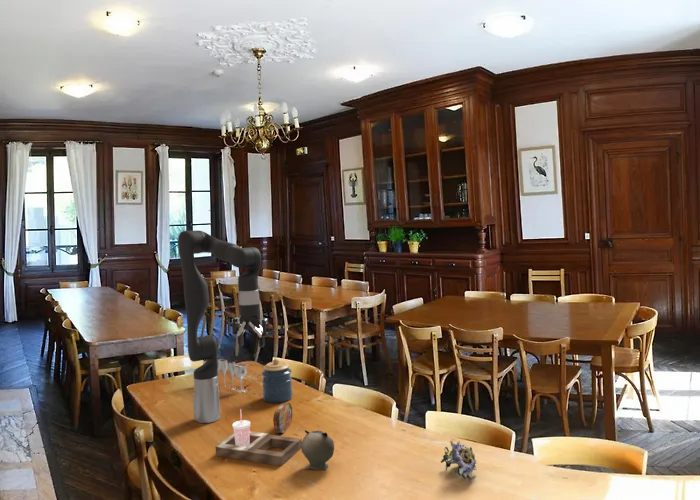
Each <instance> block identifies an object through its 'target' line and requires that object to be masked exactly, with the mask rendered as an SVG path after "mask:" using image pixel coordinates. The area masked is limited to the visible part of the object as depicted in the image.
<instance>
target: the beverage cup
mask: <svg viewBox="0 0 700 500" xmlns="http://www.w3.org/2000/svg"><path fill="white" fill-rule="evenodd" d="M239 417H240V420H237V421H234V422H233V423H232V428H233V434H234V437H235V445H237V446H244V447H247V446H248V445H250V431H251V421H249V420H248V419H247V420H246V419H243V415H242V408H239Z"/></svg>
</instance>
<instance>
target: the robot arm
mask: <svg viewBox="0 0 700 500" xmlns="http://www.w3.org/2000/svg"><path fill="white" fill-rule="evenodd" d="M177 247H178V254H179V260H180V265H181V270H182V280H183V295H184V306H185V311H186V312H185V313H186V314H185V315H186V325H187V326H186V328H187V354H188V358H189V360H190V361H191V362H193V363H194V362H199V361H203V360H207V361H206V362H205V363H204V364H203V363H202V365H200V366H199V367H197V368H195V370H193V386H194V395H193V396H192V403H193V404H192V405H193V419H194V421H196V422H197V423H199V424H209V423H214V422H216V421H218V420H220V419H221V404H220V387H219V386H218V384H219V374H218V373H219V372H218V359H217V358H218V352H219V351H218V350H219V349H218V342H217V338H216V336H215V335H211V334H209V335H204V336H202V335H201V336H198V329H199V327H200V326H199V325H200V323H201V320H202V319H203V317H204V315H205V313H206V311H207V309H208V306H209V304H210V295H209V286H208V283H207V281H206V280H205V278H204V277H203V275H202V274H201V272H200V271H199V269H198V267H197V266H196V262H195V256H194V255H195V254H196V255H198V254H204V253H208V254H209V253H210V254H213V255H214V257H215V258H216V259H218V260H221V261H225V262H227V263H229V264H231V265H232V266H233V267H235V268H239V269H241V268H242V269H244V268H245V272H244V273H241V274H239V276H238V277H237V278H238V279H237V283H238V285H237V287H238V295H237V297H238V299H237V300H238V313H239V314H238V315H239V317H238V316H236V317H233V318H232V320H231V321H232V334H233V335H236V337H237V344H238V346H239V347H243V346H245V336H244V333H245V332H246V331H251V332H252V331H253V332H254V333H256V334H257V336H258V347H259V348H263V347H264V346H265V345H266V341H265V340H266V338H265V337H266V336H269V335H270V325H269V318H261V304H260V292H259V280H258V278H259V273H260V269H261V264H262V254H261V251H260V250H259V248H257V247H255V246H253V247H250V246H249V247H243V248H242V247H240V246H239V245H237V244H236V243H232V242H229V241H225V240H221V239H218V238H216V237H215V236H212V235H210V234H209V233H207V232H205V231H202V230H182V231H181V232H179V234H178V239H177ZM240 324H241V325H240Z"/></svg>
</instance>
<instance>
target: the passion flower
mask: <svg viewBox="0 0 700 500" xmlns="http://www.w3.org/2000/svg"><path fill="white" fill-rule="evenodd" d="M450 446H451V450H449V448H448V446H445V447H444V448H443V449H444V454H443V455H442V457H443V459H441V461H440V463H441V464H443V463H444V462H445V471H447V470H448V468H450V467H451V465H452V464H453V465H454V464H457V469H456V474H457V476H461V477H462V478H463V479H464V480H466V479H467V478H468V479H469V478H470V479H469V480H472V479H473V471H477V466H476V464H477V459H475V457H476V454H475V453H474V452H473V448H472V447H471V446H470V447H469V446H465V444H463V445H462V444H461V441H460V440H458V441H457V442H456V443H454V441H453V440H450Z"/></svg>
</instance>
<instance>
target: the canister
mask: <svg viewBox="0 0 700 500" xmlns="http://www.w3.org/2000/svg"><path fill="white" fill-rule="evenodd" d="M289 367H290V364H288V363H287V362H286V361H281V360H279V359H278V358H273V360H272V361H270V362H268V363H266V365H264V366H263V367H262V369H263V371H261V376H262V379H261V382H262V398H263V401H264V402H266V403H269V404H271V403H272V404H277V403H285V402H289V400H291V399H292V398H293V393H294V392H293V385H292V381H293V378H292V376H291V374H292V370H291V368H289Z"/></svg>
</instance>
